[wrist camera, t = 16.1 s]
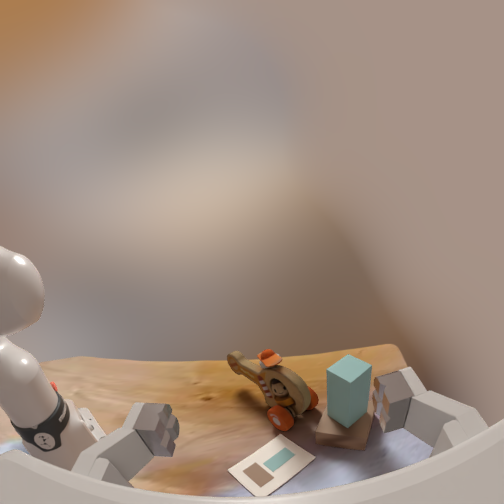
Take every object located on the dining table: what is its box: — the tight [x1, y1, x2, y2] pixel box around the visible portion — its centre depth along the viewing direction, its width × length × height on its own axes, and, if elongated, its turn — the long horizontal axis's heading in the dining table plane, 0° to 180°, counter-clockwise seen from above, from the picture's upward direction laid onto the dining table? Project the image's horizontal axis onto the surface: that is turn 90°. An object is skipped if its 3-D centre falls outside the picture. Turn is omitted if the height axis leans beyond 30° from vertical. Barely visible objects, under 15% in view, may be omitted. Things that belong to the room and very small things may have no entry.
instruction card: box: [228, 434, 316, 497], centre depth 34 cm, size 8×11×1 cm
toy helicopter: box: [227, 349, 318, 431], centre depth 48 cm, size 8×21×14 cm, turn 40°
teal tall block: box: [327, 354, 372, 428], centre depth 37 cm, size 4×4×10 cm
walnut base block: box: [315, 400, 375, 450], centre depth 38 cm, size 8×8×4 cm
